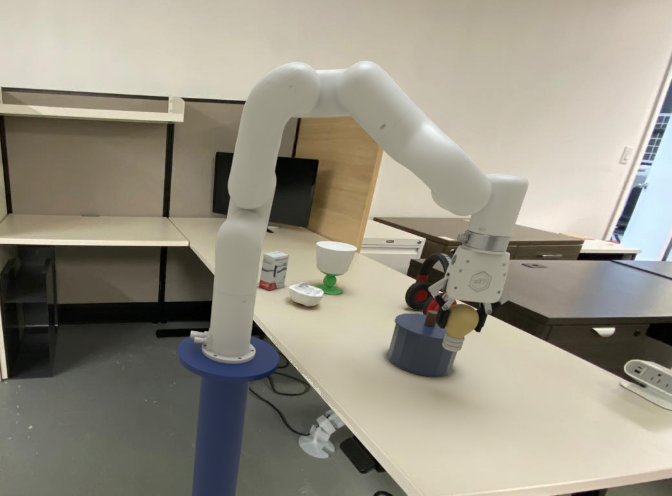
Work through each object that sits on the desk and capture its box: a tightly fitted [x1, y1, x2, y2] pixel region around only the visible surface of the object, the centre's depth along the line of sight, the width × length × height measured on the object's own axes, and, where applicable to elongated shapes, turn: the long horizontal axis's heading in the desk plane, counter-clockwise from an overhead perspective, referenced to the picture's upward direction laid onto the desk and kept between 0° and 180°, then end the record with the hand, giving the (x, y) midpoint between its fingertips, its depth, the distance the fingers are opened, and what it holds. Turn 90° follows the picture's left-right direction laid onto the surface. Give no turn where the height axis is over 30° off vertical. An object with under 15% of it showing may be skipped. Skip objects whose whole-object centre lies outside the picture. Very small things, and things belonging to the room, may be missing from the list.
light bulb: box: [442, 303, 479, 352], centre depth 97 cm, size 6×6×10 cm
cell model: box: [288, 281, 325, 307], centre depth 147 cm, size 10×12×7 cm
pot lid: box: [394, 310, 447, 341], centre depth 111 cm, size 16×16×4 cm
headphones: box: [404, 252, 458, 315], centre depth 142 cm, size 18×10×20 cm, turn 3°
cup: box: [315, 240, 358, 295], centre depth 161 cm, size 14×14×16 cm
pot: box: [387, 323, 458, 378], centre depth 113 cm, size 15×15×10 cm
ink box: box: [258, 250, 290, 291], centre depth 160 cm, size 8×5×12 cm, turn 134°
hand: (457, 327), depth 97 cm, fingers closed on light bulb, 6 cm apart
